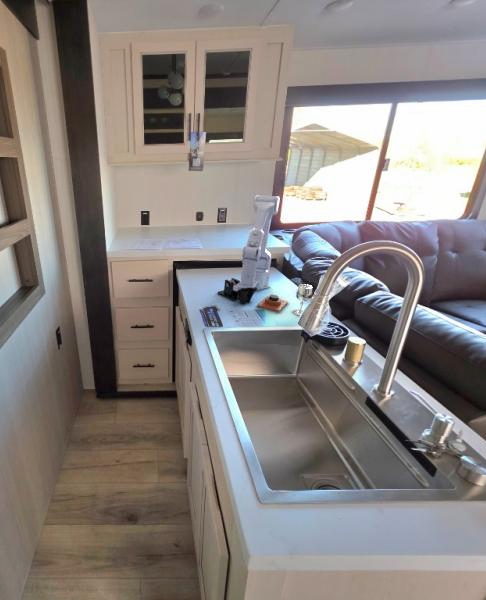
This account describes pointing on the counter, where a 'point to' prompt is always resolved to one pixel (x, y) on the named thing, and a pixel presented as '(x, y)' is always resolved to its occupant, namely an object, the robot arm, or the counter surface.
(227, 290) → the bracket
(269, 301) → the block
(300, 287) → the wineglass
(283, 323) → the counter surface
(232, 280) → the lever
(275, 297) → the button
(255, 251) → the robot arm
